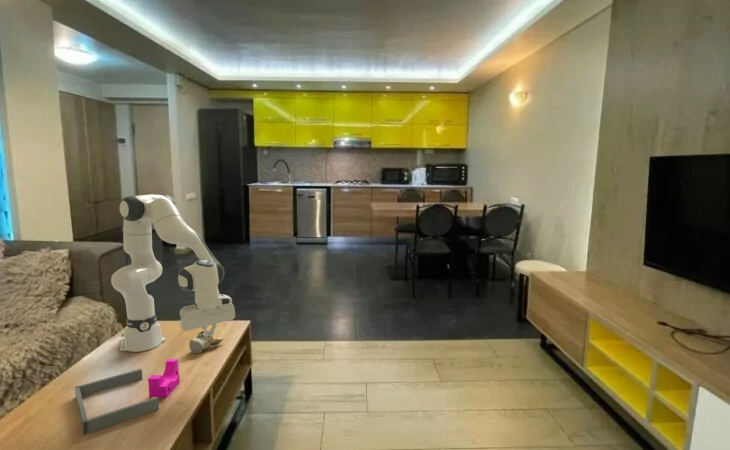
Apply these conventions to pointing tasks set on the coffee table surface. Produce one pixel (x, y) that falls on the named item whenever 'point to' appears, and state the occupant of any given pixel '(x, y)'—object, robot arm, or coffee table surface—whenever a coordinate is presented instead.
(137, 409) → the box
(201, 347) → the ceramic sculpture
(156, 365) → the coffee table surface
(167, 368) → the magenta curved bracket
